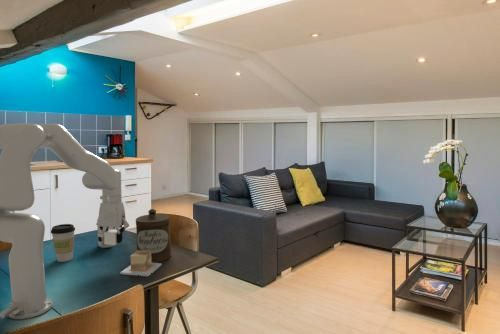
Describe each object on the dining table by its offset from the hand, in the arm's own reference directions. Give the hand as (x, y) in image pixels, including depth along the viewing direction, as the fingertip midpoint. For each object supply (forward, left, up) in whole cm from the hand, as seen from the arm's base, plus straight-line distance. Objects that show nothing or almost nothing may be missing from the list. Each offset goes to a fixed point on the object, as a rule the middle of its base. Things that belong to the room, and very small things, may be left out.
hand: (113, 241), depth 156 cm
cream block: (0, 0, -1) cm, 1 cm away
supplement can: (+25, +19, -11) cm, 33 cm away
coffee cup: (+4, +27, -11) cm, 29 cm away
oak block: (-1, -13, -10) cm, 16 cm away
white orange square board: (-1, -13, -11) cm, 17 cm away
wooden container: (+14, -12, -11) cm, 21 cm away
